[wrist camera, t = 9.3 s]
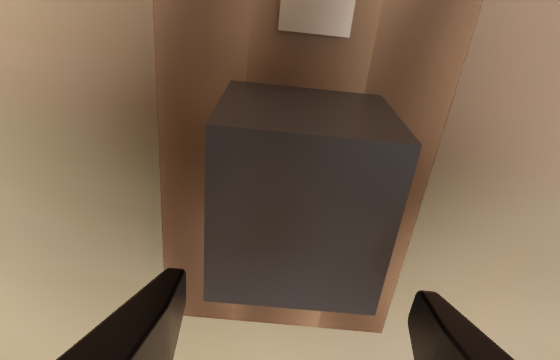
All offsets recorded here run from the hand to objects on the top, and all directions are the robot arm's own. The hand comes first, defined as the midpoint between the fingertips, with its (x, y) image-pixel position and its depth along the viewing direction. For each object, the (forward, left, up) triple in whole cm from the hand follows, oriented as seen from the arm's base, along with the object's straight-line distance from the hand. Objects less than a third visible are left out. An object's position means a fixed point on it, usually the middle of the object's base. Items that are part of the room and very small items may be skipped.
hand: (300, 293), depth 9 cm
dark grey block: (0, 0, -10) cm, 10 cm away
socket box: (0, 0, -10) cm, 10 cm away
